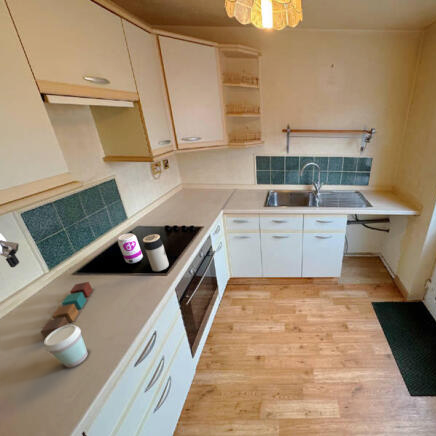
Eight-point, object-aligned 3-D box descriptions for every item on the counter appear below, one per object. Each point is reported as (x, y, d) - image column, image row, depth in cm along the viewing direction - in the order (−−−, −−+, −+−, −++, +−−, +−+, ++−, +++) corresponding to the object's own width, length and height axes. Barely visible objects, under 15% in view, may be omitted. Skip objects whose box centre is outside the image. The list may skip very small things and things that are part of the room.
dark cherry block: (74, 300, 101) (69, 291, 98) (79, 292, 105) (75, 284, 103) (88, 297, 102) (83, 288, 100) (92, 289, 106) (88, 281, 104)
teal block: (66, 312, 95) (61, 303, 92) (72, 303, 99) (67, 294, 97) (81, 308, 96) (76, 299, 94) (86, 300, 100) (81, 291, 98)
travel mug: (150, 272, 117) (139, 242, 109) (155, 263, 124) (145, 234, 116) (166, 270, 118) (157, 240, 111) (170, 261, 126) (162, 233, 118)
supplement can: (144, 260, 127) (135, 236, 121) (126, 265, 123) (117, 242, 116) (142, 253, 133) (134, 231, 127) (125, 258, 129) (116, 235, 122)
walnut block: (47, 341, 83) (40, 331, 80) (54, 329, 87) (48, 320, 85) (64, 336, 84) (57, 327, 82) (70, 325, 88) (64, 316, 86)
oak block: (57, 325, 89) (51, 316, 86) (64, 315, 93) (58, 306, 91) (73, 321, 90) (67, 312, 88) (79, 312, 94) (73, 303, 92)
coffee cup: (94, 342, 82) (80, 318, 77) (91, 362, 75) (75, 337, 70) (62, 355, 78) (45, 331, 72) (56, 377, 71) (37, 352, 66)
